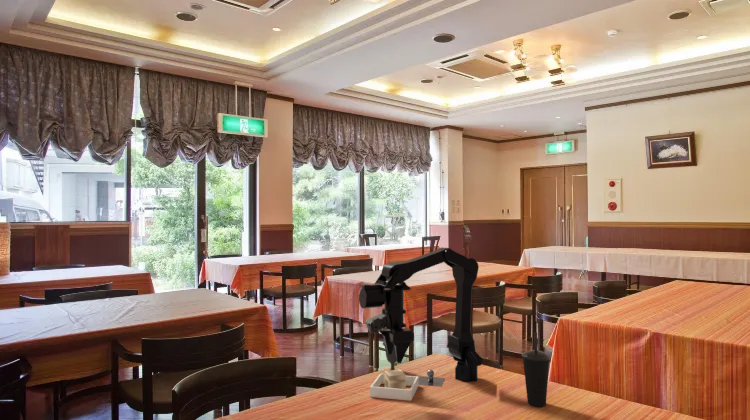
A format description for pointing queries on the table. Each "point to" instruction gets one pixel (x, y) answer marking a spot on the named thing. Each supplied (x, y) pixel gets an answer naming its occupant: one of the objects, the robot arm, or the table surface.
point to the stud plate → (431, 380)
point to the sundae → (391, 357)
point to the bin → (394, 389)
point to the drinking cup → (536, 375)
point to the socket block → (395, 379)
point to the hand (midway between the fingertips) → (394, 358)
